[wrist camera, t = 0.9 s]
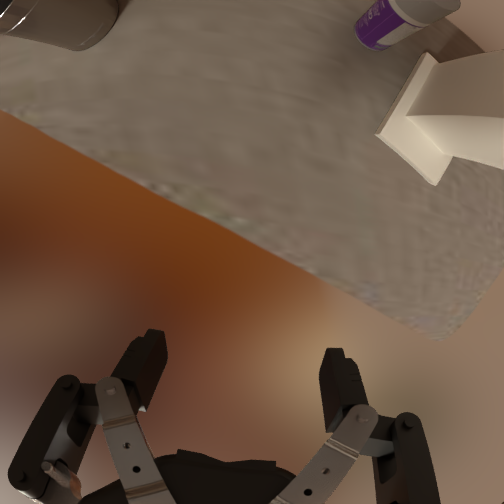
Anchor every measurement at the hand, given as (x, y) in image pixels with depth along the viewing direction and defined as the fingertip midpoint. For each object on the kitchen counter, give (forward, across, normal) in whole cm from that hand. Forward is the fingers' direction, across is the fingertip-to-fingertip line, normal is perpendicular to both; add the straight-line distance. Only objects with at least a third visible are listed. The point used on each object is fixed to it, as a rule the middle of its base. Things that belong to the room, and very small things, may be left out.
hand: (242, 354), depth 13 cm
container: (+21, -11, -25) cm, 35 cm away
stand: (+21, -20, -16) cm, 33 cm away
